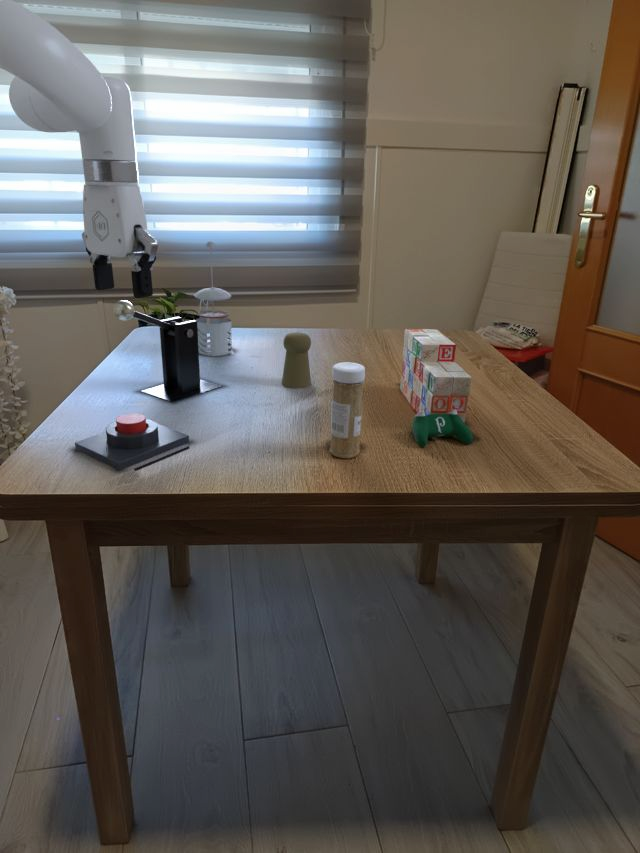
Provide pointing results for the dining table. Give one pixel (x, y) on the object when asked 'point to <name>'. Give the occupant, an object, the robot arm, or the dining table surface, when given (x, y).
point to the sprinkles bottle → (346, 409)
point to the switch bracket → (180, 364)
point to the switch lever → (140, 316)
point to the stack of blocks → (433, 374)
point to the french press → (213, 321)
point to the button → (131, 423)
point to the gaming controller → (440, 427)
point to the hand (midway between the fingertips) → (123, 292)
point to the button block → (132, 445)
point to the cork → (296, 361)
